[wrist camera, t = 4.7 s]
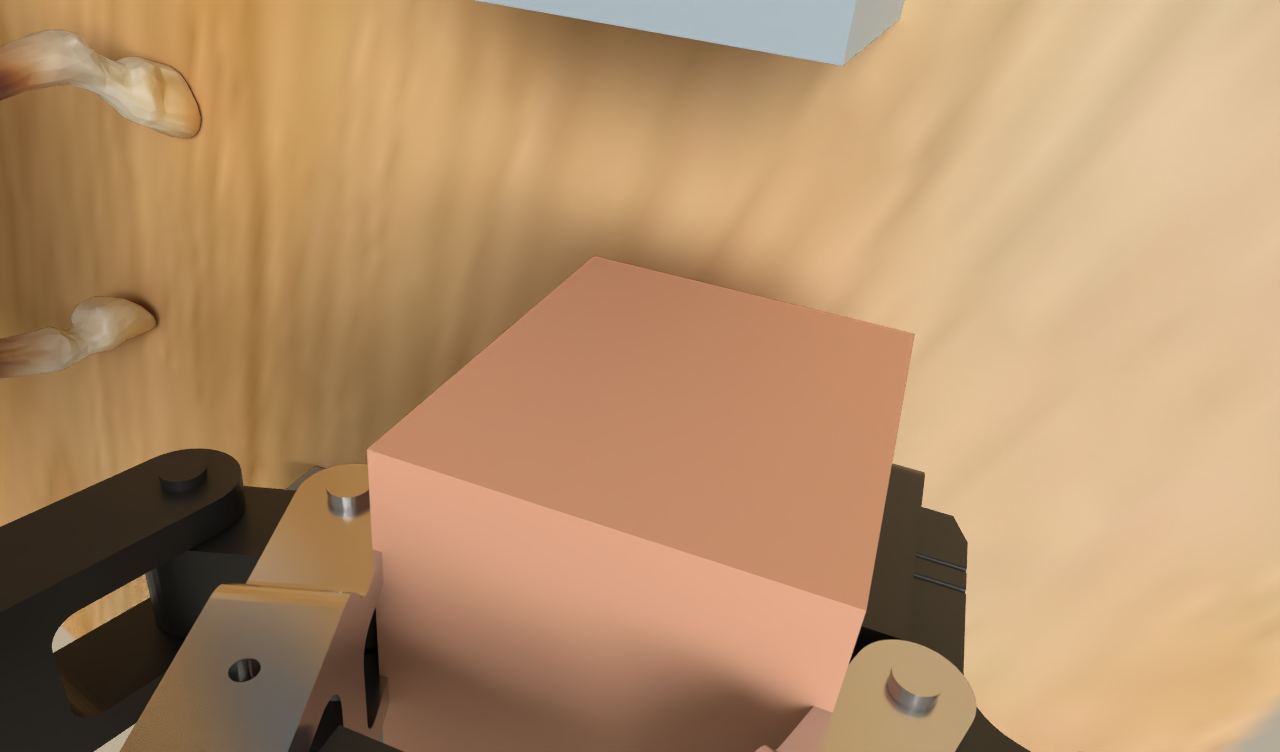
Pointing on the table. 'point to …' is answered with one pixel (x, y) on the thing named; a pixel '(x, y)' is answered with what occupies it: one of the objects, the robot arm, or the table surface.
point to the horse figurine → (136, 96)
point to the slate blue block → (744, 22)
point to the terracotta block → (635, 522)
